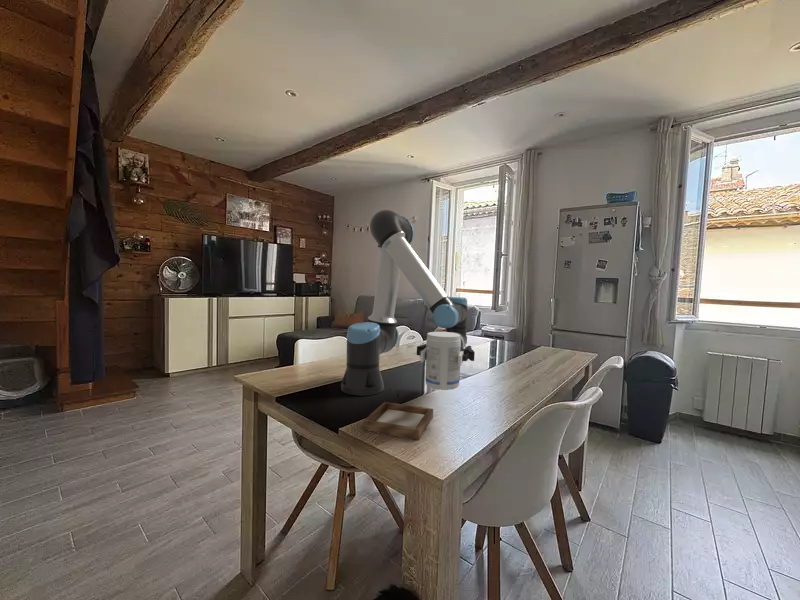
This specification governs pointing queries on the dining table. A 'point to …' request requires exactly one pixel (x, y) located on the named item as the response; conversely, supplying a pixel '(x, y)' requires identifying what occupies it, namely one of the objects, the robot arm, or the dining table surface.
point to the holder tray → (399, 420)
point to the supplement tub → (442, 360)
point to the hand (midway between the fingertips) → (440, 358)
